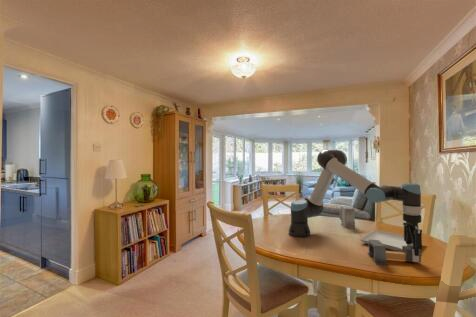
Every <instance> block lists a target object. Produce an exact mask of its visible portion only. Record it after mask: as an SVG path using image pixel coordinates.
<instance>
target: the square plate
mask: <svg viewBox="0 0 476 317" xmlns="http://www.w3.org/2000/svg"><path fill="white" fill-rule="evenodd" d="M369 240H379V241H380V242H381V243H382V244H383V245H385V246H386V250H389V251H394V252H402V246H407V244H406V241H404V234H399V233H395V232H388V231H383V230H375V229H374V230H372V231H370V232H368V233H367V234H365V235H364V236H362V237H361V238H360V239H359V241H361V242H362V243H364V244H367V245H369ZM422 242H423V239H422ZM412 245H413V244H412Z"/></svg>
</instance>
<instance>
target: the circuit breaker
mask: <svg viewBox="0 0 476 317" xmlns="http://www.w3.org/2000/svg"><path fill="white" fill-rule="evenodd" d="M338 214H339V215H338V217H339V220H340V221H341V226H342V227H344V228H345V229H356V227H355V226H356V221H355V214H356V211H355V208H354V207H353V206H341V207H340V209H339V212H338Z"/></svg>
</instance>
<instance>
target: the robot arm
mask: <svg viewBox="0 0 476 317" xmlns="http://www.w3.org/2000/svg"><path fill="white" fill-rule="evenodd" d="M316 160H317V163H318V165H319V167H321V168H322V170H321V172H320V175H319V177H318V178H317V182H316V183H315V187H314V188H313V189H312V190H313V191H312V193H311V195H309V196H308V197H307V198H306V200H303V199H299V200H293V201H292V202H291V204H290V225H289V228H288V234H289V235H290V236H292V237H295V238H308V237H310V236H311V230H310V226H309V219H310V218H316V217H319V216H321V215H323V213H324V209H325V208H324V198H325V197H326V195H327V194H326V193H327V192H328V190H329V188H330V185H331V183H332V181H333V179H334V177H335V176H337V177H338V178H340V179H341V180H343V182H346V183H348V184H349V185H350V186H352V187H353V188H354V189H356V190H358V191H359V192H361V193H362V194H364V196H365V197H366V198H367V200H368V202H371V203H375V204H379V203H382V202H388V201H397V202H398V201H399V202H402V220H403V221H404V222H403V223H402V225H403V235H404V241H406V244H407V246H413V248H412V261H413V262H414V263H420V262H419V249H420V250H422V249H423V243H422V242H423V241H422V240H423V239H422V236H423V234H422V233H423V230H422V228H421V229H420V228H419V224H420V223H422V207H421V206H422V202H421V201H422V200H421V199H422V191H421V185H420V184H418V183H412V182H411V183H409V182H408V183H407V182H406V183H405V182H403V183H402V184H401V186H392V185H386V184H385V185H377V184H375V183H374V182H372V181H371V180H369V179H367V178H366V177H364V176H363V175H361V174H359V173H358V172H356V171H354V170H353V169H352V168H350V167H348V166H347V165H346V164H347V162H348V157H347V155H346V153H345V152H344V151H343V150H340V149H323V150H322V151H320V152H319V153H318V154H317V156H316ZM308 218H309V219H308ZM412 244H413V245H412Z"/></svg>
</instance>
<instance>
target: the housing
mask: <svg viewBox="0 0 476 317" xmlns="http://www.w3.org/2000/svg"><path fill="white" fill-rule="evenodd" d="M386 251H387V249H386V246H385V245H383V244H382V243H381V242H380V241H379V240H369V244H368V252H367V255H368V256H369V257H373V262H374V263H375V265H380V266H388V265H389V264H388V263H387V259H386Z"/></svg>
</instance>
